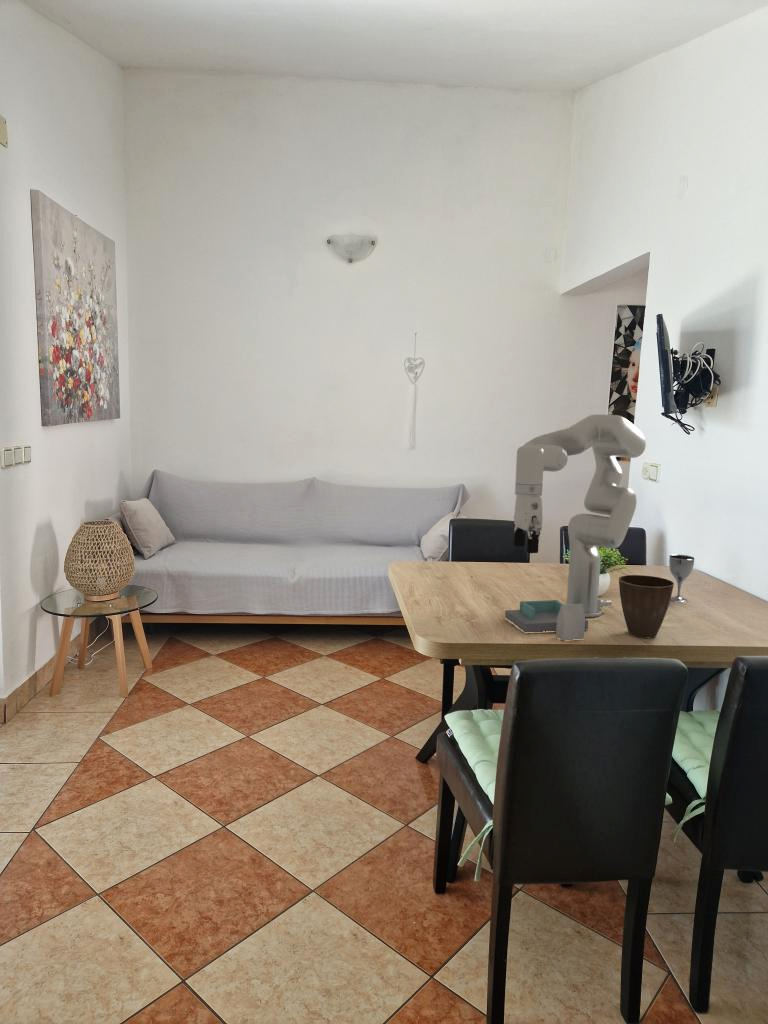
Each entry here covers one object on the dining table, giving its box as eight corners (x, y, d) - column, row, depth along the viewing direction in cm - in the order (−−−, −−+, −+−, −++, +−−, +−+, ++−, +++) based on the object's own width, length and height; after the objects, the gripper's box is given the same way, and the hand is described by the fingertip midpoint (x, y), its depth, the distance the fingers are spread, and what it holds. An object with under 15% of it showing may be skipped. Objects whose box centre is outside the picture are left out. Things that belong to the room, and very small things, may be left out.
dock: (564, 616, 226) (565, 598, 225) (587, 630, 213) (589, 610, 212) (505, 619, 221) (505, 600, 220) (524, 634, 208) (525, 613, 207)
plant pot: (605, 633, 210) (609, 579, 208) (629, 623, 221) (633, 572, 219) (655, 646, 200) (659, 589, 198) (678, 635, 210) (682, 581, 208)
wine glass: (664, 600, 249) (668, 557, 247) (667, 595, 256) (670, 553, 254) (689, 603, 246) (693, 560, 243) (691, 598, 253) (695, 556, 250)
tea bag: (583, 640, 204) (586, 605, 203) (562, 641, 202) (564, 606, 201) (576, 635, 208) (578, 602, 206) (555, 637, 206) (557, 603, 204)
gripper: (554, 493, 197) (550, 555, 200) (529, 486, 214) (526, 543, 217) (527, 493, 196) (524, 556, 198) (505, 486, 213) (502, 543, 215)
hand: (525, 549), depth 207 cm, fingers open, 9 cm apart
